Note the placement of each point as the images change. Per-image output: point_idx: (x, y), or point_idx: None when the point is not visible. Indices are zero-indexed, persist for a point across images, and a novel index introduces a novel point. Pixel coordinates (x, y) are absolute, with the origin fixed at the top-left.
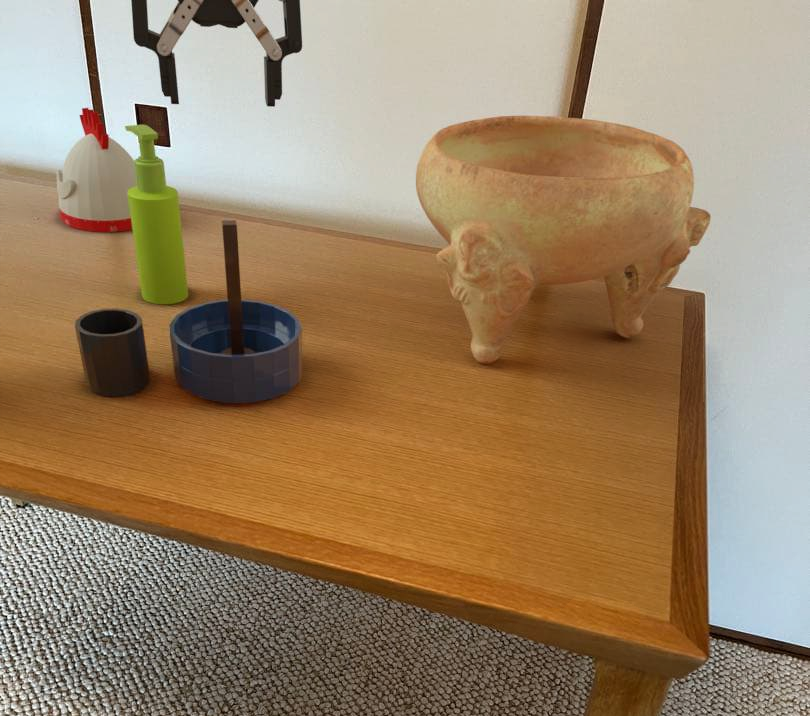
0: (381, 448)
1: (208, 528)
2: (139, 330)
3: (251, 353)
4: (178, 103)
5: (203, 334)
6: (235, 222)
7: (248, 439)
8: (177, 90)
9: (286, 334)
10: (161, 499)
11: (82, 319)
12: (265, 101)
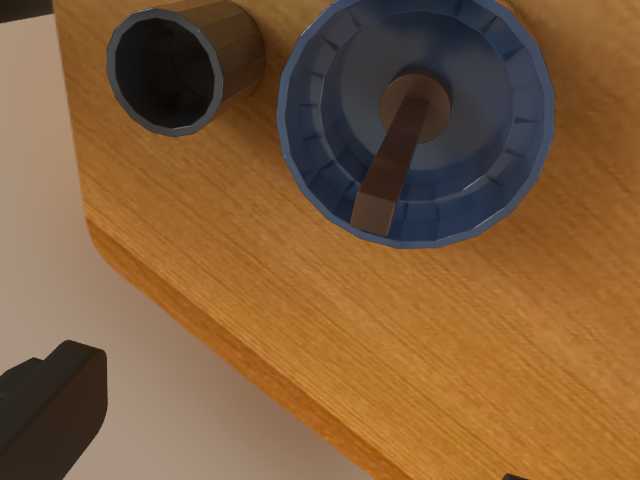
0: (543, 367)
1: (283, 402)
2: (218, 110)
3: (441, 112)
4: (102, 418)
5: (365, 25)
6: (388, 221)
7: (372, 279)
8: (73, 463)
9: (537, 80)
10: (244, 344)
11: (118, 47)
12: (506, 475)
